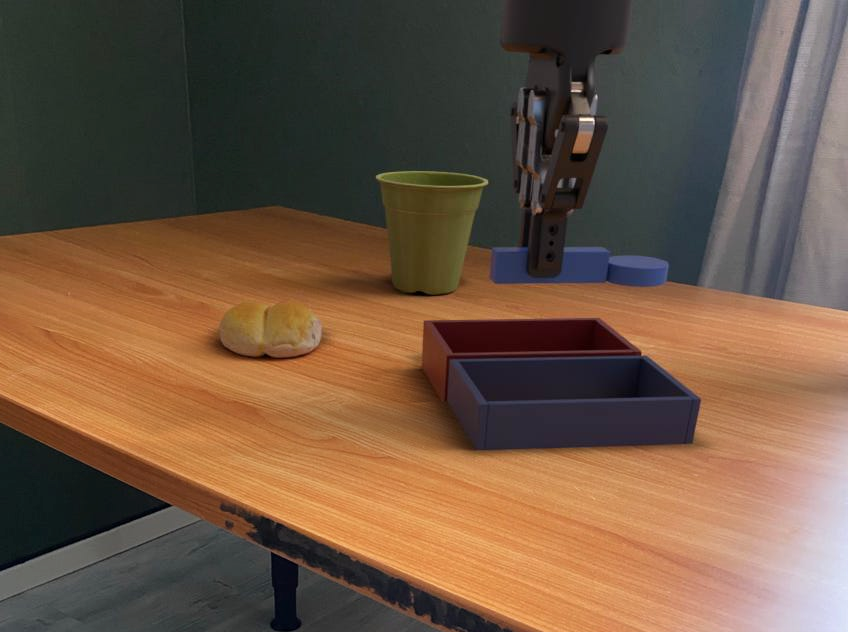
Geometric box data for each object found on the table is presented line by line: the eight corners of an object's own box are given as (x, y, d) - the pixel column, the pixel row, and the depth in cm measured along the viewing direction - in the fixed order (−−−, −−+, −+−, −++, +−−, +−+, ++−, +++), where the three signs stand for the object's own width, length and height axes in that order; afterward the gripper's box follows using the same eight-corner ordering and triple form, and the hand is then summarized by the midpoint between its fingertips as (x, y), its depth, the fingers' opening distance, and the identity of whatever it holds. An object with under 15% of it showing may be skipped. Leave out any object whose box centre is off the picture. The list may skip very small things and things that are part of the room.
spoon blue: (499, 288, 64) (502, 256, 63) (484, 274, 68) (487, 243, 67) (675, 286, 65) (681, 254, 64) (652, 273, 69) (657, 242, 68)
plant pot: (446, 306, 103) (453, 188, 97) (352, 290, 109) (353, 178, 103) (499, 286, 111) (508, 177, 106) (409, 272, 117) (413, 167, 111)
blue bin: (638, 406, 77) (647, 355, 75) (690, 455, 68) (701, 398, 66) (446, 411, 75) (449, 359, 73) (475, 462, 67) (479, 404, 65)
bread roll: (234, 332, 93) (232, 288, 91) (327, 338, 92) (327, 293, 90) (206, 356, 87) (203, 309, 84) (306, 363, 85) (306, 316, 83)
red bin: (593, 364, 86) (599, 317, 84) (634, 402, 78) (642, 351, 76) (421, 367, 85) (423, 320, 83) (443, 407, 76) (446, 355, 74)
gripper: (681, -48, 51) (627, 297, 61) (597, -36, 63) (563, 252, 72) (540, -53, 51) (508, 297, 60) (481, -40, 62) (462, 253, 71)
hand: (538, 272), depth 66 cm, fingers closed on spoon blue, 1 cm apart
